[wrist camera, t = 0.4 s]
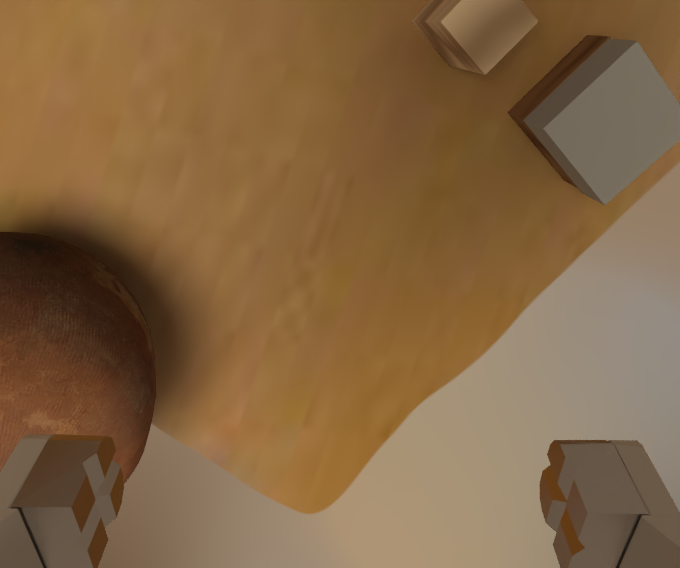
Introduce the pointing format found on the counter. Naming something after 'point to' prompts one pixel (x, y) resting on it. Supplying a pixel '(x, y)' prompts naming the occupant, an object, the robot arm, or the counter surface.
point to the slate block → (608, 120)
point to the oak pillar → (474, 30)
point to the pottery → (71, 349)
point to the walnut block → (549, 86)
